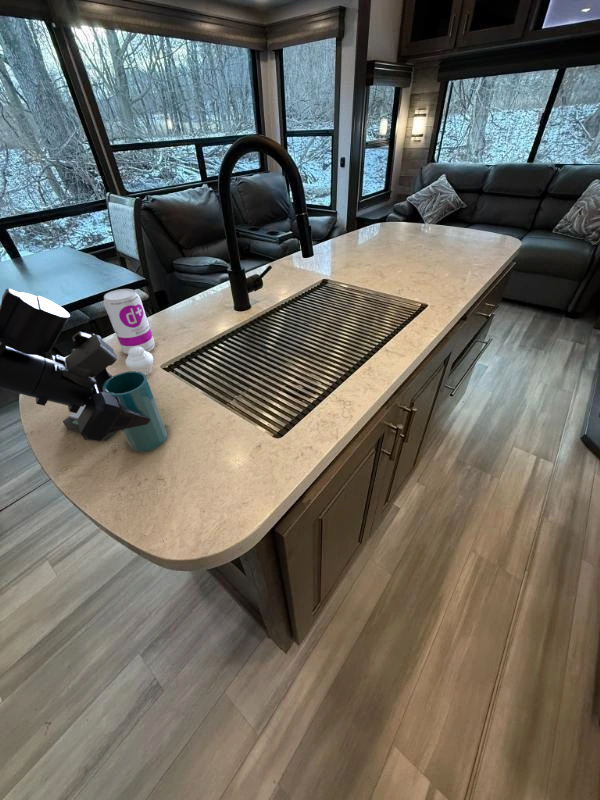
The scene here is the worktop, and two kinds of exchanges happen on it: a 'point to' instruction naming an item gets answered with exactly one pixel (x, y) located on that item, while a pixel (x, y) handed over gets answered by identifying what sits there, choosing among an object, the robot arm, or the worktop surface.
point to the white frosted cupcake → (139, 360)
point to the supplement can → (128, 319)
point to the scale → (73, 424)
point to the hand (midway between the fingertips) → (141, 406)
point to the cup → (138, 409)
